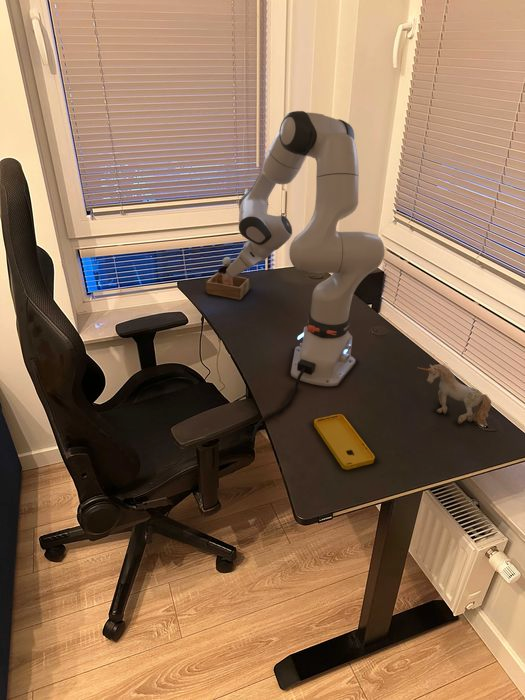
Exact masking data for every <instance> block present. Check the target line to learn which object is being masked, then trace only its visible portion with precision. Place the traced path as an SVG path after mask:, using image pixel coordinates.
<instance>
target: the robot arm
mask: <svg viewBox="0 0 525 700" xmlns="http://www.w3.org/2000/svg"><path fill="white" fill-rule="evenodd" d="M307 157H309V158H312V159H314V160H315V162H316V173H315V174H316V177H315V179H316V183H315V187H316V188H315V204H314V210H313V213H312V216H311V218H310V220H309V222H308V224H307V225H306V227H305V228H304V229H303V230H302V231H301V232H299V233H298V234H296V236H294V238H293V239H292V241H291V242H290V246H289V249H288V250H289V252H288V253H289V254H288V255H289V260H290V262H291V265H292V266H293V268H294V269H296V270H297V271H301V272H304V273H310V274H331V275H330V276H329V277H328V278H326V279H325V280H323V281H321V282H319V283H318V284H316V286H315V287H314V289H313V292H312V296H311V304H310V312H309V313H308V317H307V324H306V326H304V327H303V332H302V333H301V334H299V335H298V336H297V340H300V339H301V338H302V342H300V343H299V344H298V345H297V346H295V348H294V352H293V358H292V362H291V369H290V376H291V377H292V378H294V379H296V380H295V384H294V388H293V390H292V392H291V394H290V396H289V398H288V399H287V400H286V401H285V403H284V404H283V405H282V406H280V407H279V408H278V409H275V410H274V411H272V412H270V413H268V414H266V415H265V416H264V417H262V418H261V419H260V420H259V421H258V422H257V423H256V424H255V426H254V428H253V431H252V434H251V438H250V442H251V443H253V442H255V439H256V436H257V432H258V429H259V427H260V426H261V425H262V423H264V422H265V421H266V420H268V419H269V418H271V417H273V416H275V415H277V414H279V413H281V412H282V411H283V410H284V409H285V408H287V407H288V405H290V403H291V402H292V401H293V398H294V397H295V395H296V393H297V390H298V387H299V383H300V381H301V382H304V383H307V384H310V385H314V386H315V385H316V386H320V387H336V386H338V385H339V384H340V383H341V382H342V380H343V379H344V378H345V377H346V375H347V374H348V373H349V372H350V371H351V369H352V368H353V367H354V365H355V364H356V358H354V357H353V356H352V346H353V345H352V344H353V335H352V334H351V333H350V332H349V329H350V323H351V321H350V320H351V318H350V311H351V306H352V302H353V301H352V300H353V297H354V294H355V292H356V290H357V288H358V287H359V285H360V284H361V283H362V282H363V280H364V279H365V278H367V276H368V275H369V274H371V273H372V272H374V271H376V270H377V269H378V268H379V267H380V266H381V264H382V263H383V262H384V261H383V260H384V258H385V253H386V252H385V245H384V242H383V240H382V239H381V237H380V236H379V235H378V234H376V233H375V234H374V233H372V232H371V233H370V232H367V231H338V230H337V226H338V222H339V221H341V220H343V219H345V218H347V217H349V216H351V215H352V214H353V213H354V212H355V211H356V210H357V208H358V205H359V179H360V178H359V158H358V151H357V146H356V141H355V131H354V128H353V127H352V125H351V124H350V123H348V122H347V121H344V120H343V119H337V118H334V117H331V116H328V115H325V114H322V113H317V112H306V111H304V110H296V111H291V112H288V113H287V114H286V115H285V116H284V118H283V119H282V121H281V123H280V127H279V131H277V133H276V135H275V136H274V138H273V140H272V142H271V144H270V145H269V148H268V151H267V152H266V156H265V158H264V160H263V164H262V168H261V170H260V172H259V173H258V176H257V178H256V179H255V182H254V184H253V185H252V187H251V188H250V189H249V190H248V191H247V192H245V193H244V195H242V196H241V198H240V199H239V202H238V211H239V213H238V232H239V233H240V235H241V236H242V237H243V238H245V239H247V241H246V242H245V243H244V244H243V247H242V249H241V250H240V252H238V256H237V257H236V258H235V259H234V260H233V261H232V262H231V264H230V266H229V267H228V268H227V270H226V273H225V274H224V277H225V278H226V279H227V278H228V277H230V276H231V277H232V278H233V277H235V276H238V275H240V274H241V273H243V272H245V271H246V270H248V269H252V268H253V267H254V266H256V265H259V264H261V263H263V262H264V261H265V260H267V258H269V257H271V255H272V254H273V252H275V251H277V250H279V249H280V248H281V247H282V246H283V245H285V244H286V243H287V242H288V241H289V239H291V238H292V236H293V226H292V223H290V220H289V219H288V217H286V216H285V215H272V214H268V209H269V197H270V196H271V193H272V192H273V190H274V189H275V186H276V185H287V184H290V183H292V182H293V180H294V179H295V178H296V177H297V175H298V174H299V172H300V170H301V169H302V167H303V165H304V163H305V161H306V159H307Z"/></svg>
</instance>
